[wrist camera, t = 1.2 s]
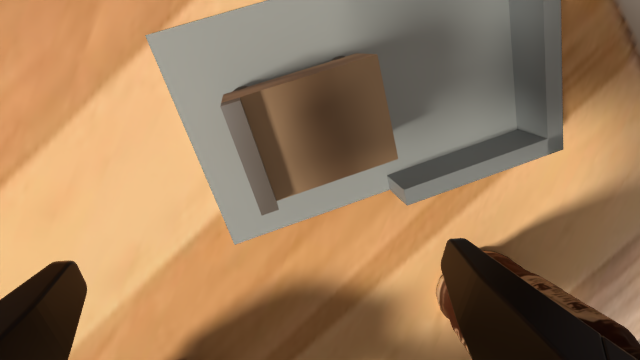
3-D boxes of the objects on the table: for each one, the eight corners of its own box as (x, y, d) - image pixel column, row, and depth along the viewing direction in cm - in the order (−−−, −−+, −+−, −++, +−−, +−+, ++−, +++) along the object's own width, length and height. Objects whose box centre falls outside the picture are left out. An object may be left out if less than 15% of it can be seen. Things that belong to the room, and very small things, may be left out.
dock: (234, 242, 22) (234, 267, 20) (146, 35, 18) (131, 33, 15) (528, 138, 24) (563, 149, 22) (517, -71, 20) (559, -89, 17)
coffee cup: (485, 210, 26) (707, 354, 14) (545, 268, 29) (768, 427, 17) (400, 300, 27) (535, 507, 15) (466, 347, 30) (623, 549, 18)
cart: (256, 180, 21) (262, 217, 16) (222, 90, 19) (219, 104, 14) (370, 141, 22) (407, 166, 17) (350, 51, 20) (385, 52, 15)
